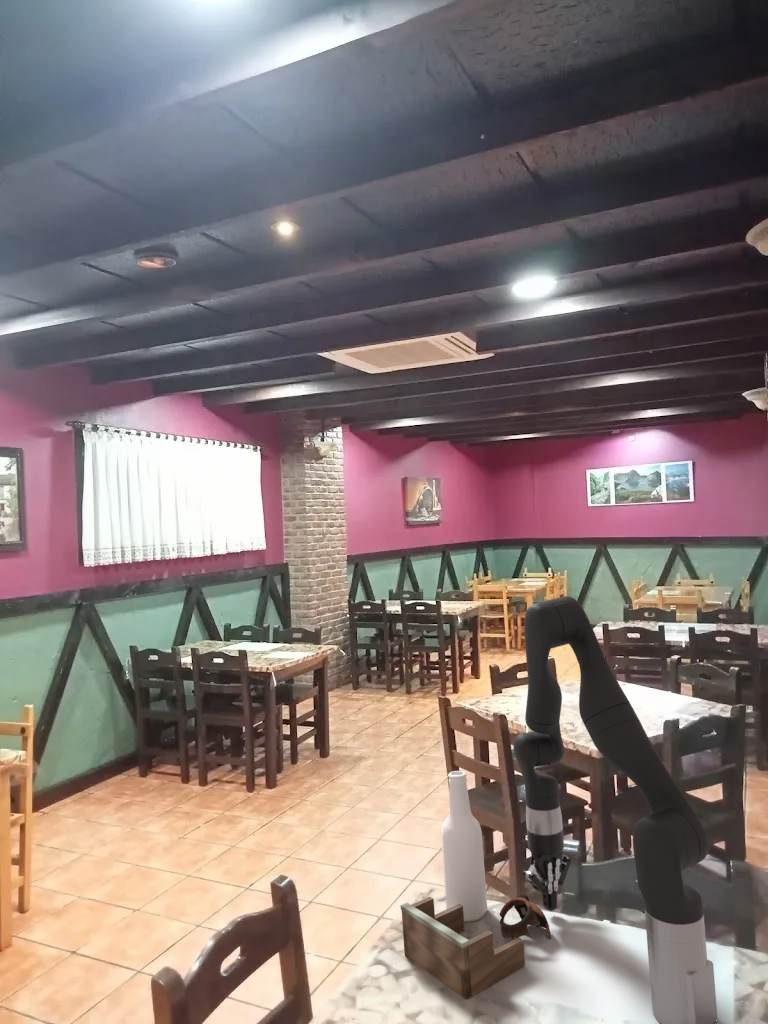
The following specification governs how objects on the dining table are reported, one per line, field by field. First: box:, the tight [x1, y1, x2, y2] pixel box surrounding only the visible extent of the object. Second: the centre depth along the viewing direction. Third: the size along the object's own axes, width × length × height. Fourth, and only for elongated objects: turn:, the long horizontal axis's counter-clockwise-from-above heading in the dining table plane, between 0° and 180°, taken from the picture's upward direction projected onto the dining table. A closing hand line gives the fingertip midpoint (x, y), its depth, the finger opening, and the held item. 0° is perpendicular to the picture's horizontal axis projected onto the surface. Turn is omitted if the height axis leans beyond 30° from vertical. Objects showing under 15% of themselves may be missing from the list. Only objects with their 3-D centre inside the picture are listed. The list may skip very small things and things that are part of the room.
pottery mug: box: [499, 892, 552, 940], centre depth 151 cm, size 12×9×8 cm
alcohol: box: [440, 770, 488, 923], centre depth 161 cm, size 9×9×30 cm
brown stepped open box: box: [399, 896, 526, 1000], centre depth 142 cm, size 18×15×10 cm
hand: (550, 908), depth 157 cm, fingers closed
